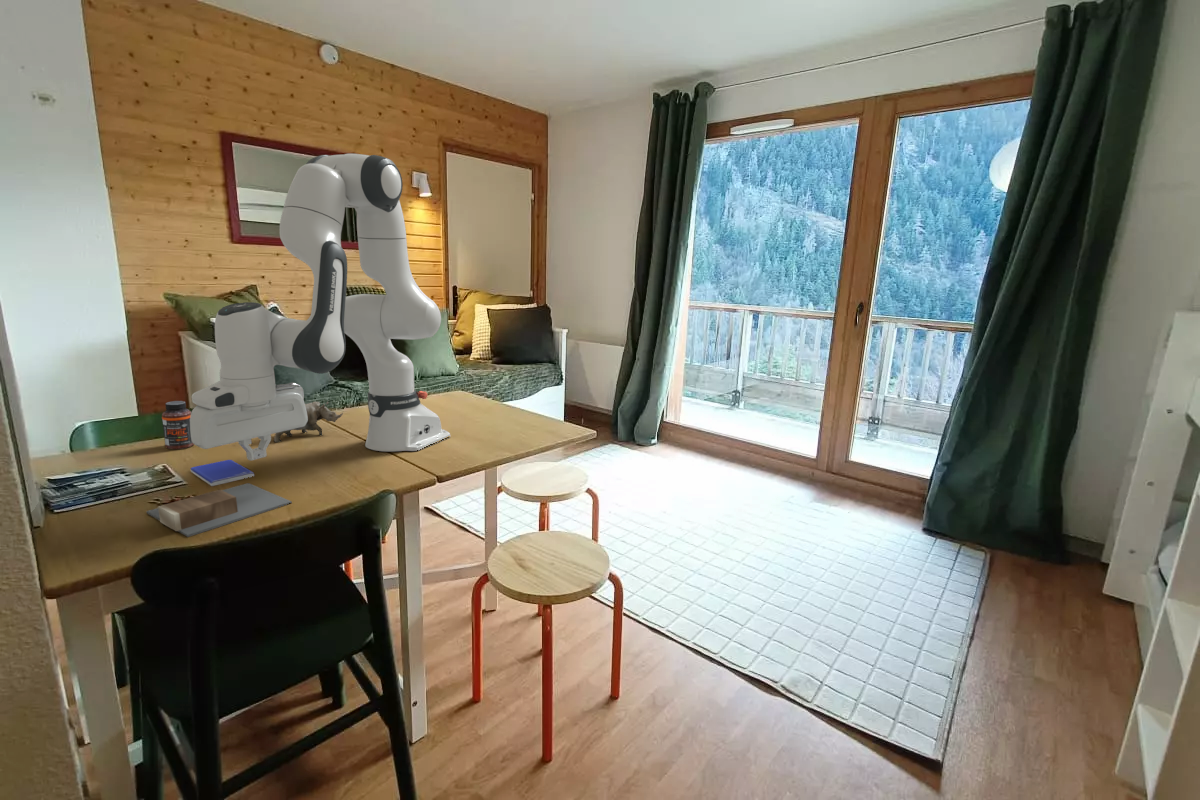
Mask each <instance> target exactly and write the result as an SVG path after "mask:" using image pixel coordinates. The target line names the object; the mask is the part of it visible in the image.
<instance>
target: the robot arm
mask: <svg viewBox="0 0 1200 800" xmlns="http://www.w3.org/2000/svg"><path fill="white" fill-rule="evenodd" d="M402 193H403V177H402V174H401V172H400V170H399V168H398V167H397V166H396V164H395V162H394V161H393V160H392V159H390V158H387V157H385V156H381V155H377V154H372V155H368V154H361V153H360V154H359V153H344V154H333V155H329V154H321V155H317V156H314V157H312V158H311V159H309V160H308V161H307V162H306V163H305V164H303V165H302V166H299V168H298V169H297V171H296V173H295V175H294V177H293V179H292V181H291V183H290V185H289V188H288V191H287V194H286V197H285V200H284V204H283V208H282V211H281V216H280V221H279V238H280V240H281V242H282V245H283V246H284V248H285V249H286V250H287V251H288V252H289V253H290V254H291V255H292V256H293V257H295V258H296V259H297V260H300V261H301V262H303V263H305V264H306V265H307V267H309V268H310V271H311V272H312V274H313V288H312V299H311V300H312V301H311V312H310V315H309V317H308V318H307V319H306V320H305V319H295V318H290V317H289V318H288V317H286V316H282V315H281V314H277V313H274V312H272V311H271V310H269V309H267V308H266V307H264V306H263V304H262V303H259V302H253V301H251V302H250V301H249V302H238V303H237V302H236V303H231V304H227V305H225V306H222V308H220V309H219V310H217V312H216V316H215V318H214V319H215V320H214V339H215V348H216V355H217V357H218V359H219V362H220V370H219V381H217V382H214V383H212V384H211V385H208V386H207V387H204V388H201V389H199V390H197V391H195V392H193V393H192V395H191V402H192V403H193V404H195V405H196V406H194V408H193V409H192V410H191V416H190V433H191V440H192V442H193V443H194V446H196V447H199V448H201V449H203V450H208V449H211V448H212V449H213V448H217V447H221V446H225V445H230V444H233V443H235V444H236V443H238V445H239V446H240V447H241V448H242V449H243V450H244V451H245V454H246V458H247V460H248V461H255V460H259V459H263V458H266V457H267V456H268V455H267V448H268V447H269V444H270V443H271V441H272V435H273V434H274V435H275V434H276V433H278V432H282V431H287V430H291V429H295V428H300V427H304V426H305V425H306V423H307V421H308V417H307V411H306V407H305V404H306V403H305V401H304V400H305V399H304V398H305V394H304V389H303V386H301V385H300V384H298V383H296V382H288V383H285V384H283V383H281V384H276V377H275V370H274V367H275V366H284V367H287V368H293V369H294V368H295V369H300V370H304V371H308V372H311V373H315V374H318V375H319V374H326V373H329V372H331V371H333V370H334V369H336V367H338V366H339V365H340V363H341V362H342V360H343V359H344V357H345V354H346V350H347V349H346V345H347V344H346V336H347V337H349V338H350V339H351V340H352V341H353V342H354V343H355V344H356V346H357V347H358V348H359V350H360V352H361V353H362V355H363V358H364V360H365V363H366V370H367V377H368V380H367V381H368V392H367V407H368V412H369V419H368V420H369V422H368V431H367V436H366V441H365V444H364V446H365V448H367V449H369V450H372V451H377V452H378V451H379V452H402V451H407V452H417V450H418V451H420V449H421V450H423V449H425V448H424V447H426V446H428V445H430V444H433V443H435V442H437V441H439V440H442V439H444V438H446V437H448V436H450V437H451V433H450V432H449V431H448V430H446V429H443V428H442V422H441V418H440V416H438V413H435V412H434V411H432V410H431V409H430V408H428V407H426V406H425V405H424V404H423V403H421V401H420V399H422V400H426V399H427V398H428V396H429V395H428V393H427V391H422V390H420V391H417V390H415V373H414V372H415V368H414V363H413V361H412V360H411V359H410V358H409V357H408V355H406V354H404V353H402V352H400V351H398V350H397V349H396V348H395V347H394V345H393V343H392V341H391V340H392V339H393V340H413V341H415V340H422V339H428V338H433V337H434V335H436V334H437V333H438V331H439V329H440V327H441V323H442V314H441V311H440V309H439V306H438V304H436V303H435V301H434V300H433V299H431V298H430V297H429V296H427V295H426V294H425V293H424V292H423V291H422V290H421V288H420V287H419V285H418V284H417V283H416V281H415V279H414V276H413V274H412V271H411V266H410V260H409V253H408V245H407V244H408V243H407V242H408V241H407V232H406V230H407V229H406V224H405V219H404V218H405V217H404V212H403V209H402V206H401V201H400V199H401V196H402ZM346 208H354V210H355V212H356V231H357V243H358V244H357V245H358V254H359V263H360V266H359V267H360V269H362V273H364V274H365V275H366V276H367V277H368V278H370V279H372V280H374V281H375V282H378V283H379V284H380V285H381V286H382V288H383V290H384V292H385V294H374V293H361V294H359V293H358V294H352V295H348V296H347V283H348V259H347V258H348V257H347V254H346V252H345V250H344V249H343V247H342V242H341V241H342V240H341V239H342V231H343V225H344V219H345V213H346ZM291 431H292V430H291ZM256 438H258V439H259V440H260V441H259V444H258V446H257V447H255V448H252V447H251V446H250V445H252V443H253V442H252V439H256ZM444 440H445V439H444ZM442 441H443V440H442ZM437 443H438V442H437ZM435 444H436V443H435ZM433 445H434V444H433ZM430 446H431V445H430ZM428 447H429V446H428ZM422 448H423V449H422ZM426 448H427V447H426Z"/></svg>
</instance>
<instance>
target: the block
mask: <svg viewBox="0 0 1200 800" xmlns="http://www.w3.org/2000/svg"><path fill="white" fill-rule="evenodd" d="M222 490H223V489H217V490H213V491H209V492H205V493H202V494H198V495H195V496H191V497H188V498H184V499H180V500H177V501H173V502H169V503H165V504H162V505H158V506H157V508H158V509H159V516H160V523H161V524H163V525H165V526H166V527H168V528H169V529H171V530H173V531H174V532H178V531H179V530H182V529H185V528H188V527H191V526H195V525H198V524H201V523H204V522H207V521H211V520H214V519H217V518H220V517H223V516H227V515H230V514H233V513H236V512H238V510H237V501H236V497H235V496H233V495H231V494H229V493H226V492H224V491H222Z"/></svg>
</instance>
